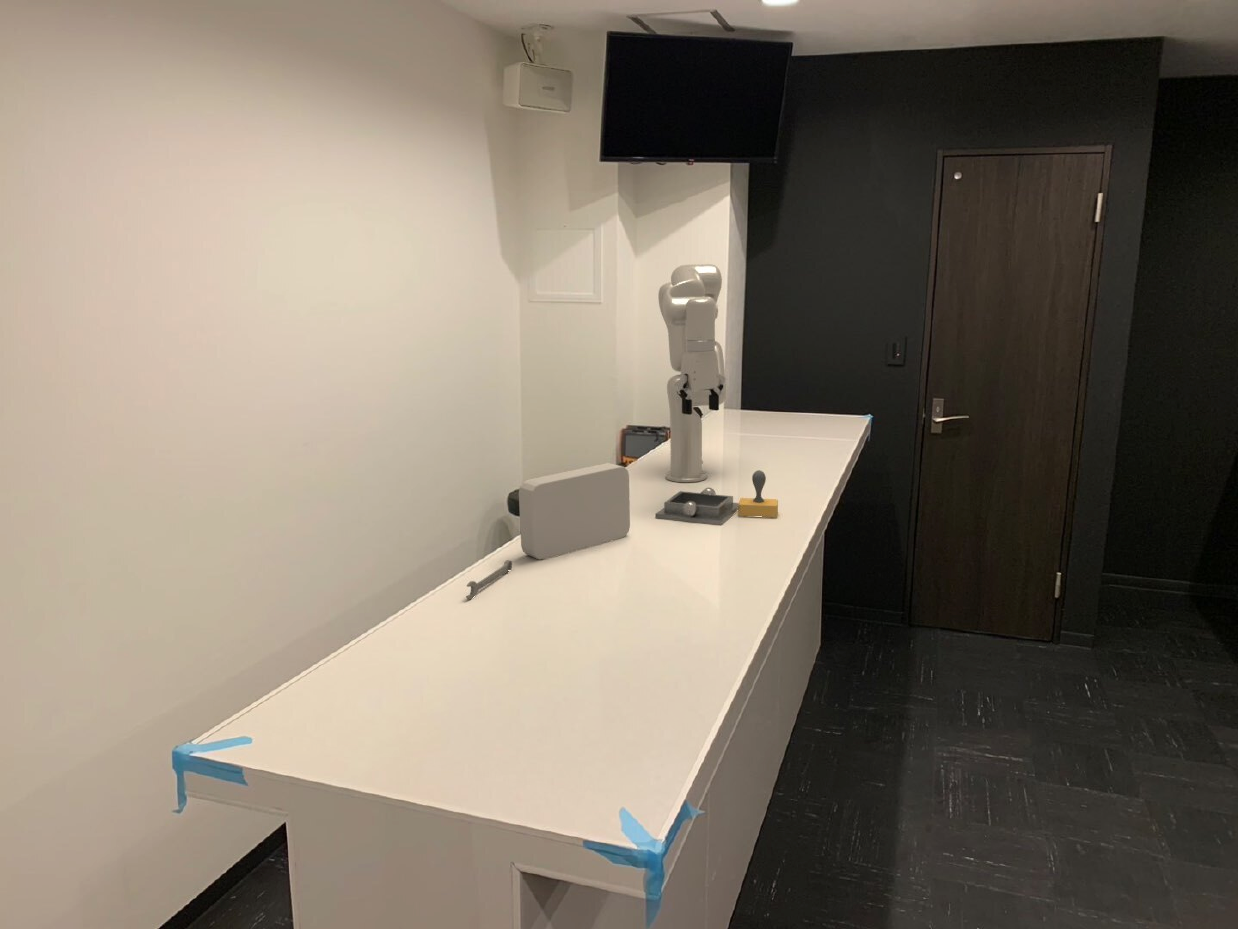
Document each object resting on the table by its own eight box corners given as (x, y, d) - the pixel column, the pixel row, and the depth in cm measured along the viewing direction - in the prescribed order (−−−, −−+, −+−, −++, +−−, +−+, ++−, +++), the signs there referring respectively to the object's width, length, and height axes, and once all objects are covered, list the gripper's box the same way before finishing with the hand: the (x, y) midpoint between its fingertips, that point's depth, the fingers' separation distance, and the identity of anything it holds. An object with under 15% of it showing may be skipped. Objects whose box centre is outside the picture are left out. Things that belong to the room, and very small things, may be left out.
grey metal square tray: (678, 501, 260) (678, 484, 259) (741, 507, 253) (741, 490, 252) (655, 518, 245) (655, 500, 244) (721, 525, 238) (721, 507, 237)
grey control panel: (611, 529, 237) (609, 459, 232) (630, 536, 231) (629, 464, 227) (515, 554, 219) (512, 479, 215) (534, 562, 213) (531, 485, 209)
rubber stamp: (777, 512, 248) (778, 468, 245) (776, 518, 243) (777, 473, 240) (739, 511, 250) (740, 467, 247) (738, 517, 245) (738, 472, 242)
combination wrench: (507, 556, 209) (461, 584, 190) (513, 556, 208) (467, 585, 190) (508, 572, 209) (462, 602, 191) (513, 572, 209) (468, 602, 191)
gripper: (714, 343, 252) (714, 407, 255) (665, 348, 241) (666, 414, 245) (734, 345, 246) (734, 409, 249) (685, 349, 235) (686, 417, 239)
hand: (700, 411), depth 247 cm, fingers open, 9 cm apart
